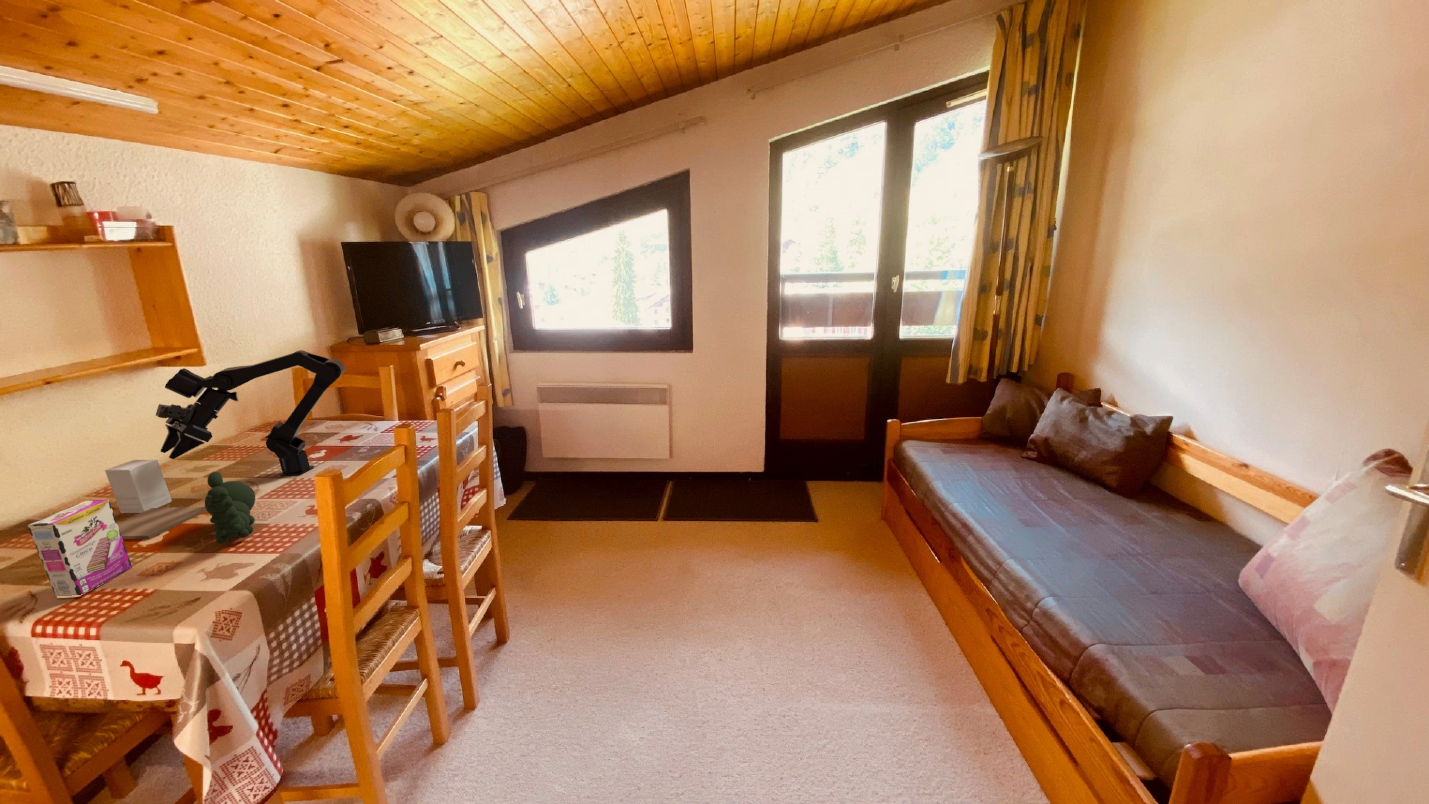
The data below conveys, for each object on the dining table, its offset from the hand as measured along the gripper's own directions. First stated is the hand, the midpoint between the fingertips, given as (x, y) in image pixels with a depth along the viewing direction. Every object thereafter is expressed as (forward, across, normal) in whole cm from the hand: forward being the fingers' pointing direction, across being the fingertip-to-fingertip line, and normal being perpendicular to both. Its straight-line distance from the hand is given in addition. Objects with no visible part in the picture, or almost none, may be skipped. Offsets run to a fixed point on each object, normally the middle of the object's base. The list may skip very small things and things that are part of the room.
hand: (166, 455), depth 150 cm
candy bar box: (+24, +42, -6) cm, 49 cm away
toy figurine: (+8, +40, +11) cm, 42 cm away
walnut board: (+15, +16, +3) cm, 22 cm away
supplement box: (+14, 0, +4) cm, 15 cm away
